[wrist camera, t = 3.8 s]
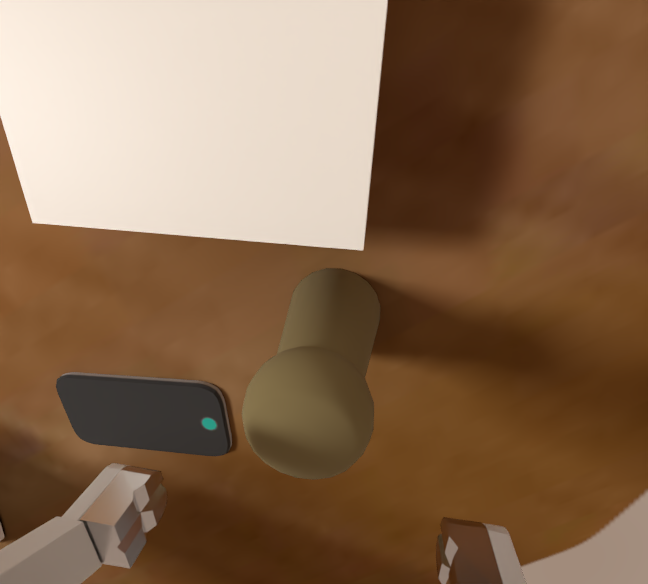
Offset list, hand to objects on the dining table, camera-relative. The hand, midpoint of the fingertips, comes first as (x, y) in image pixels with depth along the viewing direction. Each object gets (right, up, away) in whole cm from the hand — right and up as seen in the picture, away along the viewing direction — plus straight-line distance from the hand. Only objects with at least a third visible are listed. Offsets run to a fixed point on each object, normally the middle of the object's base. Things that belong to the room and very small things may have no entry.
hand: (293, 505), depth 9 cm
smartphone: (-14, -4, +19) cm, 24 cm away
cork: (+2, +5, +12) cm, 13 cm away
